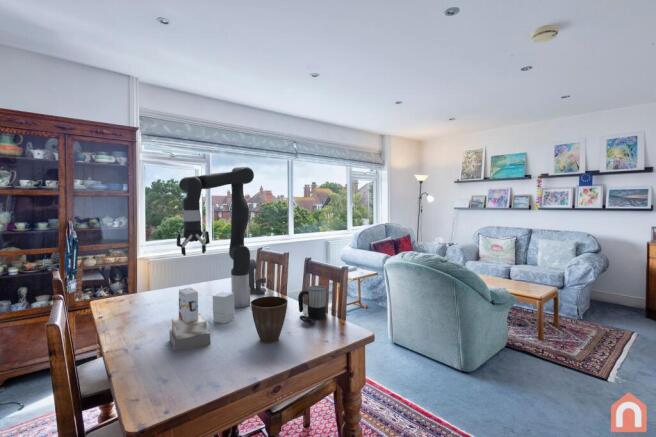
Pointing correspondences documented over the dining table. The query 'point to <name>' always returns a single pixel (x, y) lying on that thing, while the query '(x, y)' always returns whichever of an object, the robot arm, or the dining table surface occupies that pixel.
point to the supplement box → (223, 307)
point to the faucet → (258, 282)
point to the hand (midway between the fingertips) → (193, 254)
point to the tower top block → (188, 327)
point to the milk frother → (313, 304)
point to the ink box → (188, 305)
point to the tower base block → (189, 341)
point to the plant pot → (269, 317)
